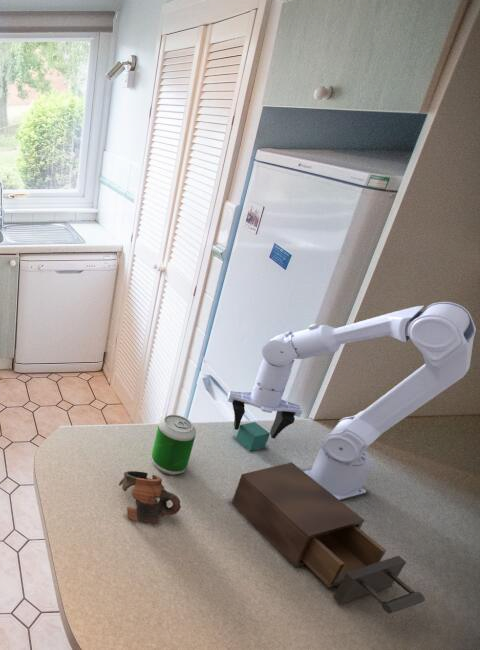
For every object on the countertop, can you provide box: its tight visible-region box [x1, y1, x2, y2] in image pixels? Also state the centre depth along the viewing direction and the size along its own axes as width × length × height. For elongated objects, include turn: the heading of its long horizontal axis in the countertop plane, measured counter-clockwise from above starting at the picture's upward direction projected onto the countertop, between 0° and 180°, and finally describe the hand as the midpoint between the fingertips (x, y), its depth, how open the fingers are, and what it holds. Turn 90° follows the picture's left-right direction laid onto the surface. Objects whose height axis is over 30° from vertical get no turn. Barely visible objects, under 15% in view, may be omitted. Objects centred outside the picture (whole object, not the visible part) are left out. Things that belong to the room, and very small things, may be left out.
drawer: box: [301, 525, 426, 615], centre depth 78 cm, size 18×11×6 cm, turn 15°
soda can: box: [151, 414, 197, 476], centre depth 101 cm, size 8×8×12 cm
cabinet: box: [231, 462, 365, 568], centre depth 87 cm, size 15×13×8 cm
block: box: [235, 421, 271, 452], centre depth 109 cm, size 4×4×4 cm
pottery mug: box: [118, 470, 182, 524], centre depth 91 cm, size 12×10×8 cm
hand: (253, 431), depth 108 cm, fingers open, 7 cm apart
